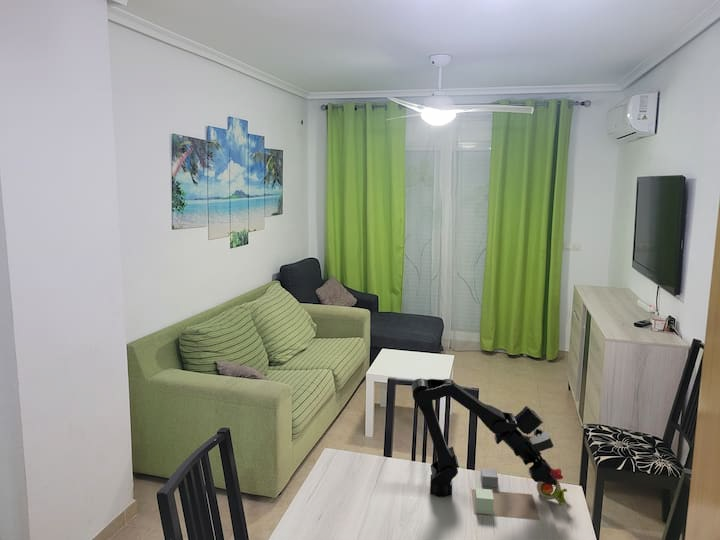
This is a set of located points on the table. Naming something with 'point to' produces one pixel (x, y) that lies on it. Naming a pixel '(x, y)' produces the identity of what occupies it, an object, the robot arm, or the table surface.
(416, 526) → the table surface
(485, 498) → the sage block
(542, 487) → the bird rattle
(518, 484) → the table surface
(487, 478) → the grey block
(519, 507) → the walnut board
